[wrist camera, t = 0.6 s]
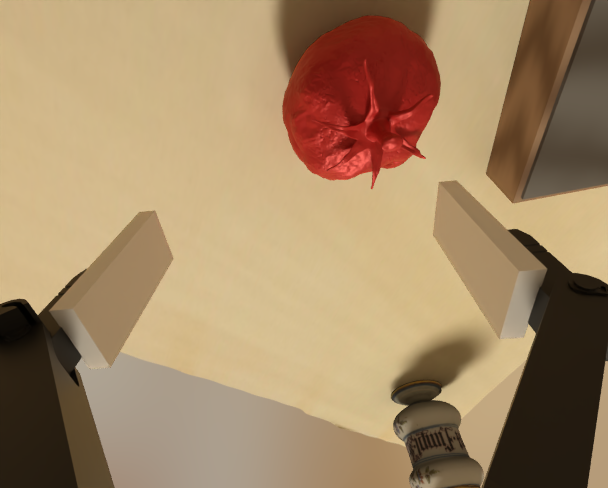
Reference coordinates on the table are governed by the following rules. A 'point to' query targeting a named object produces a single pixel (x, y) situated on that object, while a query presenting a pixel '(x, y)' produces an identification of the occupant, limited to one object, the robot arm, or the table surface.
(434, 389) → the apothecary jar
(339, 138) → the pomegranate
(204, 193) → the table surface
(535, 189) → the tray
